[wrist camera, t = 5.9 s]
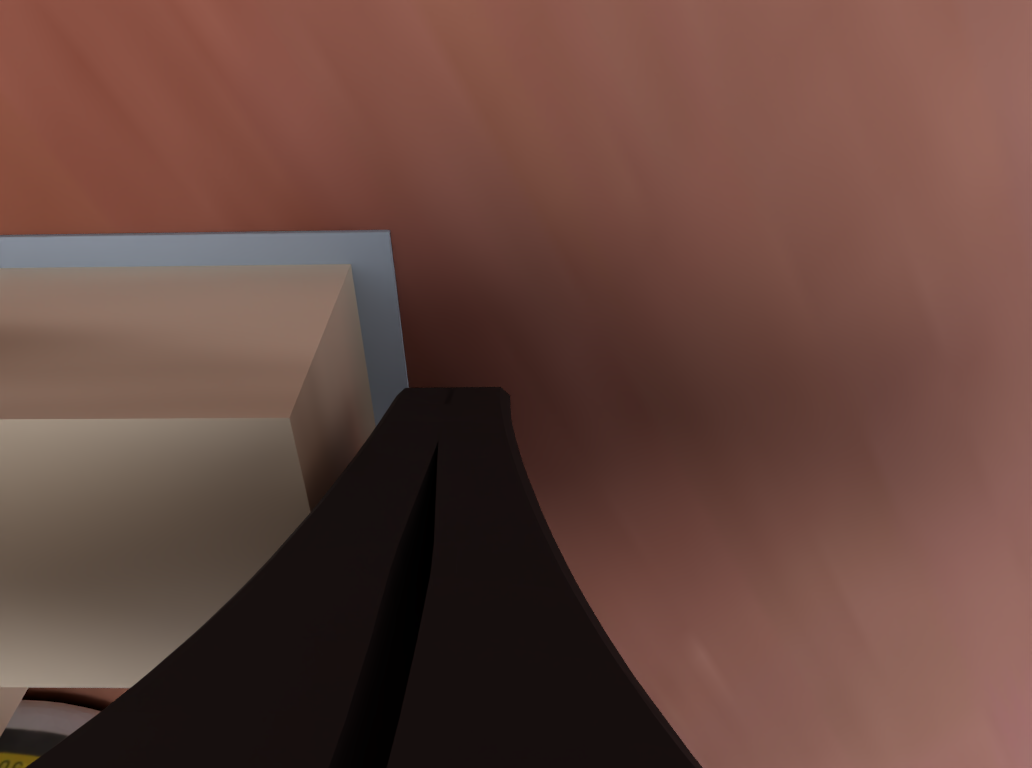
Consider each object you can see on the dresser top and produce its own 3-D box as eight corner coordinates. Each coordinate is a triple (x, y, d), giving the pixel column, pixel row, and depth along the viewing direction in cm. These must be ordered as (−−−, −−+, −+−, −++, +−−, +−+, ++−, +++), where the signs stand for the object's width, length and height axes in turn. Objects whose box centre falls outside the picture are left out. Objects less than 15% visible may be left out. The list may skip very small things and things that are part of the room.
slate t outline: (443, 649, 15) (441, 664, 14) (-173, 647, 15) (-185, 661, 15) (359, -63, 8) (353, -58, 8) (-705, -35, 9) (-741, -31, 8)
